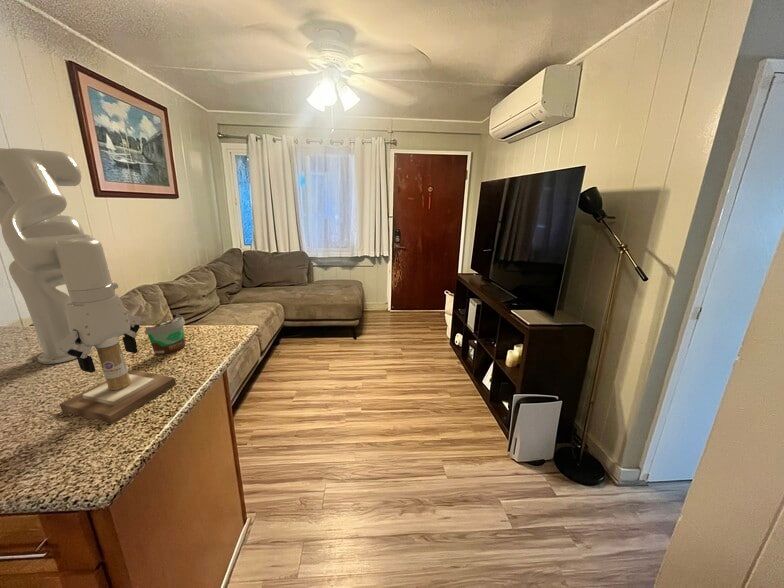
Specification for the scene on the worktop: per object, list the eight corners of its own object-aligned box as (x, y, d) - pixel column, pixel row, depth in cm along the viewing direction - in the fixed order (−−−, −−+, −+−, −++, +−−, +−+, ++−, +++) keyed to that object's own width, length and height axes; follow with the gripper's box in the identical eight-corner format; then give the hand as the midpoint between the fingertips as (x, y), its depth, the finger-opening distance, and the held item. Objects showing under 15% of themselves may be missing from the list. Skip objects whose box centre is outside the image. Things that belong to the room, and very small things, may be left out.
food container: (167, 359, 99) (160, 329, 96) (151, 357, 101) (143, 327, 98) (198, 342, 111) (192, 314, 108) (183, 340, 112) (177, 313, 109)
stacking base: (62, 411, 76) (58, 400, 75) (131, 375, 91) (128, 366, 90) (112, 423, 72) (108, 412, 71) (176, 384, 86) (173, 374, 86)
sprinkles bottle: (106, 393, 78) (90, 342, 73) (110, 384, 81) (94, 335, 77) (130, 387, 80) (115, 337, 76) (132, 378, 84) (118, 331, 79)
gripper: (120, 282, 82) (135, 343, 87) (32, 304, 66) (57, 377, 71) (142, 285, 80) (157, 347, 85) (57, 308, 64) (81, 383, 70)
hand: (111, 361), depth 78 cm, fingers open, 9 cm apart
